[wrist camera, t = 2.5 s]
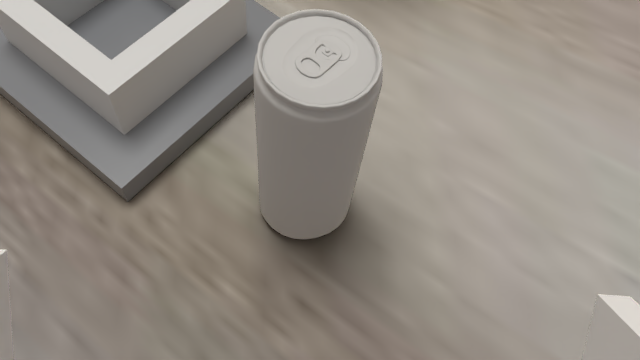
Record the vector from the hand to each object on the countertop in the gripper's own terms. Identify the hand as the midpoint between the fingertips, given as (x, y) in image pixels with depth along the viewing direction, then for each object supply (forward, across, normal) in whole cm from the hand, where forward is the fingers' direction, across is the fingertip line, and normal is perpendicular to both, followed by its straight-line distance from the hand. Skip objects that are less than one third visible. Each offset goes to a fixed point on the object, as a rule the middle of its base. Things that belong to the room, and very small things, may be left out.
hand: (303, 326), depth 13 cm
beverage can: (+18, 0, -3) cm, 19 cm away
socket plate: (+25, -11, +3) cm, 27 cm away
